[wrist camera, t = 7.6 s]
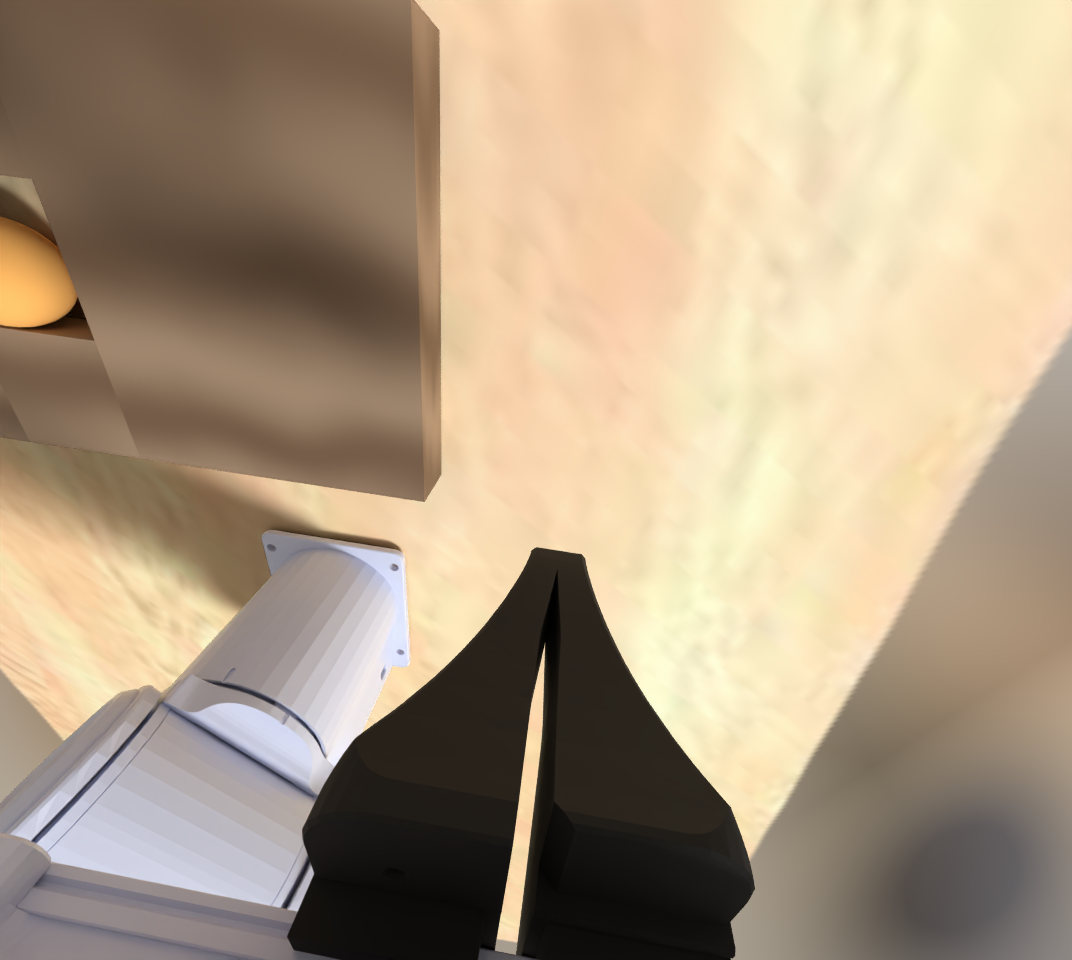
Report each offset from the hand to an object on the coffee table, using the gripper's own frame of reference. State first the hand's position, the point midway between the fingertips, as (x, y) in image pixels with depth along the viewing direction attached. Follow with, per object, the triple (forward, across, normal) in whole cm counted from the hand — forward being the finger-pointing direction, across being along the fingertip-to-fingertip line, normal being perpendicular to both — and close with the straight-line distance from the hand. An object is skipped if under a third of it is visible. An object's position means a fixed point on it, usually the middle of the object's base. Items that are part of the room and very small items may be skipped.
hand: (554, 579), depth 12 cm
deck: (+9, +17, -5) cm, 20 cm away
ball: (+7, +23, -4) cm, 24 cm away
